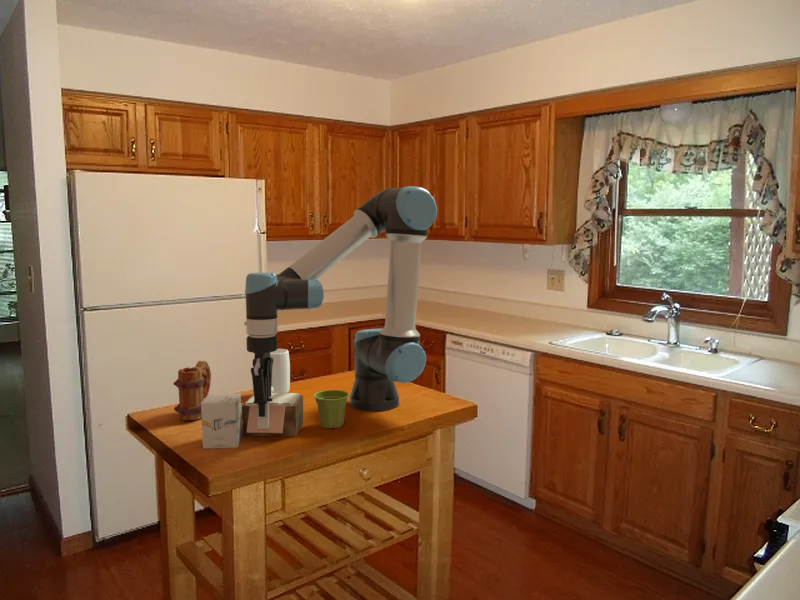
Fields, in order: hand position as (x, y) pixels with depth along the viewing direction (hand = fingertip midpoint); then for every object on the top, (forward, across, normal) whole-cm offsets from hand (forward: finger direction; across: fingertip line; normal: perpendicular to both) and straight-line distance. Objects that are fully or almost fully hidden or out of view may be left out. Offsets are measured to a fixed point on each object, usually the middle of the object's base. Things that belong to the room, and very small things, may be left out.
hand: (263, 427), depth 155 cm
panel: (-2, -2, 0) cm, 3 cm away
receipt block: (+4, -10, 0) cm, 10 cm away
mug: (+4, -21, -25) cm, 32 cm away
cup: (+3, -43, -6) cm, 43 cm away
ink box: (+4, 0, -10) cm, 11 cm away
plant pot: (+4, -14, +15) cm, 21 cm away
